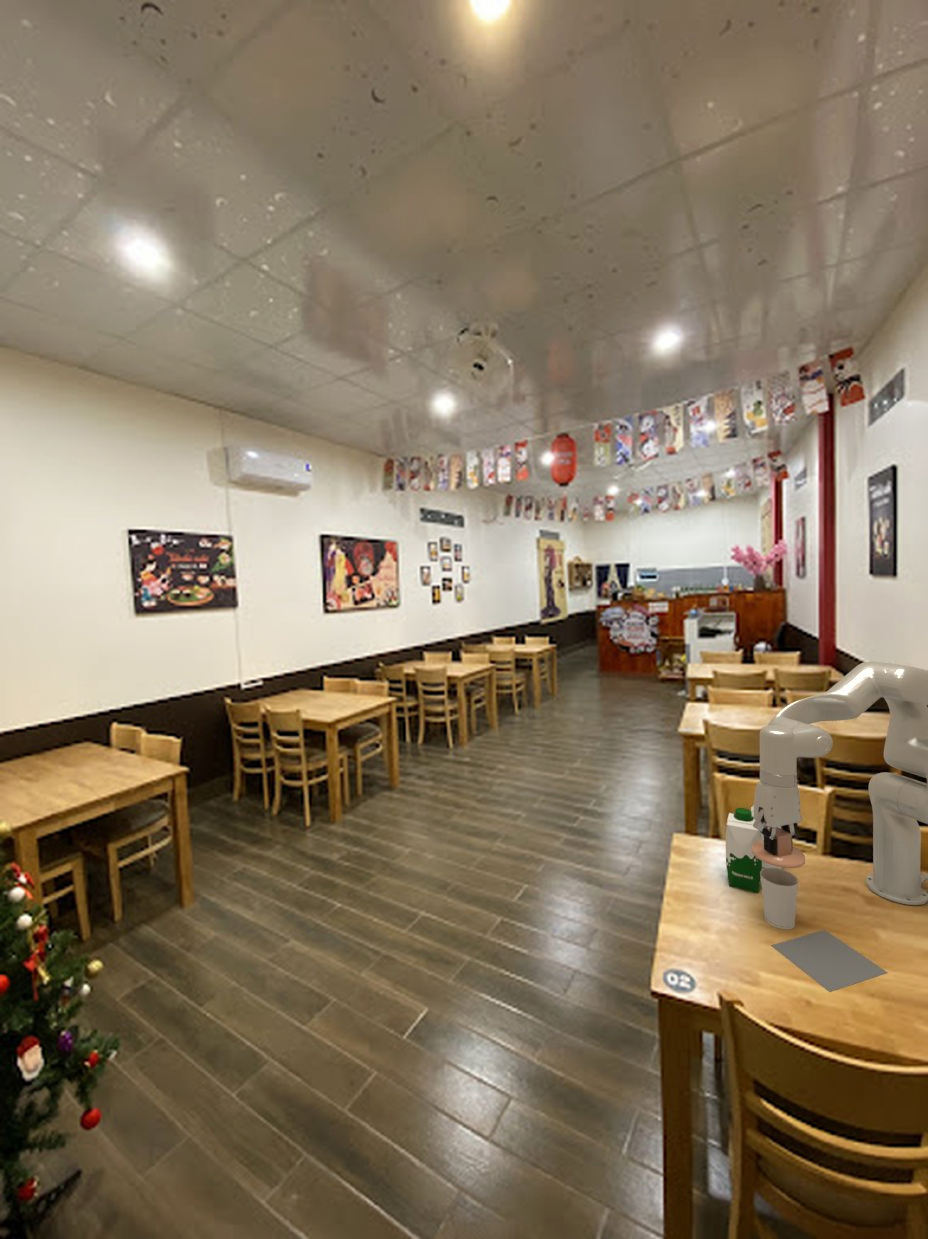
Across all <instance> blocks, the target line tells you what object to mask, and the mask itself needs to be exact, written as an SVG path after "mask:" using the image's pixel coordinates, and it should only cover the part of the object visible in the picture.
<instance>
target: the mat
mask: <svg viewBox="0 0 928 1239" xmlns="http://www.w3.org/2000/svg"><path fill="white" fill-rule="evenodd" d="M770 946H771V947H772V948H774V949H775V950H776V951H777V952H778V953H780V954H781V955H782V956H783V957H785V958H786V959H787V960H788V961H790V963H792V964H793V965H795V966H796V967H797V968H798V969H800V971H802V972H803V973H805V974H806V975H807V976H808V977H810V978H811V979H812V980H814V981H815V982H816V983H818V984H819V985H820V987H822V988H824V989H825V990H826V991H828V992H829V993H832V992H835V991H837V990H841V989H843V988H846V987H849V986H853V985H855V984H858V983H861V982H864V981H867V980H871V979H873V978H877V977H879V976H882V975H883V976H884V975H886V974H888V973H889V972H888V971H886V970H885V969H884V968H882V967H881V966H879V965H878V964H876V963H875V962H873V961H872V960H870V959H869V958H867V957H866V956H864V955H863V954H862V953H860V952H858V951H857V950H855V949H854V948H853V947H851V946H849V945H848V944H847V943H845V942H843V941H842V940H840V939H839V938H838V937H836V936H835V935H833V934H832V933H831V932H828V930H826V929H822V930H818V931H816V932H811V933H808V934H805V935H801V936H798V937H795V938H791V939H788V940H784V941H781V942H777V943H775V944H774V943H773V944H771V945H770Z"/></svg>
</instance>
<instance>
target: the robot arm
mask: <svg viewBox="0 0 928 1239" xmlns="http://www.w3.org/2000/svg"><path fill="white" fill-rule="evenodd" d="M881 698H883V699H884V700H885V702H886V703H887V706H888V709H889V710H888V711H889V721H888V722H889V723H888V727H887V733H886V736H885V742H884V746H883V747H884V748H883V758H884V761H885V763H886V764H887V765H888V766H891V767H893V768H894V769H897V770H900V771H903V772H906V773H909V774H913V775H916V776H917V777H922V778H926V782H923V781H919V780H917V779H914V778H911V777H907V776H904V775H901V774H899V773H893V772H886V771H885V772H883V771H882V772H880V773H876V774H874V775H873V776H872V777H871V779H870V780H869V783H868V795H869V800H870V803H871V807H872V819H873V824H872V827H873V829H872V830H873V832H872V835H873V836H872V838H873V841H872V844H873V845H872V848H873V849H872V850H873V852H872V856H873V858H872V860H873V861H872V862H873V864H872V867H873V868H872V870H873V872H872V874H868V875H867V876H866V878H865V884H866V886H867V887H868V889H870V890H871V891H872V892H873V893H874V894H876V895H878V897H882V898H883V899H886V900H889V901H891V902H894V903H898V904H903V905H908V906H909V905H910V906H921V905H925V904H926V903H927V902H928V891H926V889H924V888H923V887H922V884H924V882H928V873H927V872H926V871H925V872H921V850H922V848H921V845H922V844H921V843H922V842H921V841H922V833H921V828H920V824H919V823H918V822H920V823H924V824H926V825H928V669H924V668H919V667H915V666H912V665H911V666H910V665H906V664H905V665H904V664H896V663H887V662H881V661H864V662H861V663H859V664H858V665H856V666H855V667H854V668H853V669H852V670H850V671H849V672H848V673H847V674H846V675H844V677H842V678H841V679H840V680H838V681H837V682H836V683H835V684H834V685H832V686H831V687H830V688H829V689H828V690H827V691H825V692H820V693H818V694H817V693H816V694H814V695H811V696H808V697H805V698H801V699H798V700H796V701H794V702H791V703H789V704H788V705H786V706H785V707H783V708H782V709H781V710H780V711H778V712H777V713H776V714H775V715H774V716H773V717H771V718H772V719H770V721H768V724H767V725H765V726H762V727H761V729H760V731H759V781H757V783H756V788H755V792H754V797H753V798H754V799H753V805H754V819H755V822H754V824H753V827H754V828H756V829H758V830H759V831H760V832H761V833H762V834H763V835H764V850H766V851H767V852H769V853H771V854H772V855H777V839H775V832H776V827H778V826H781V829H782V830H784V831H786V832H788V833H790V834H792V837H793V836H794V835H795V834H796V832H795V830H796V829H797V827H798V825H799V824H800V823H801V822H802V821H803V817H802V815H801V811H802V809H801V798H800V797H801V796H800V790H799V785H798V783H797V775H798V772H797V759H798V758H811V759H812V758H813V759H814V758H821V757H824V756H826V755H827V754H829V753H830V751H831V750H832V748H833V744H834V743H833V742H834V740H833V737H832V736H831V734H830V733H829V732H828V731H827V730H825V729H824V728H821V727H819V726H817V725H813V723H819V722H840V721H847V720H853V719H857V718H858V717H860V716H861V715H862V714H864V712H866V711H867V710H868V709H869V708H870V707H871V706H872V705H873V704H875V703H876V702H877V701H878V700H880V699H881ZM768 827H769V828H770V832H769V831H768Z"/></svg>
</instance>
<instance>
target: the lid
mask: <svg viewBox="0 0 928 1239" xmlns="http://www.w3.org/2000/svg"><path fill="white" fill-rule="evenodd" d="M768 831H769V832H770V828H769V829H768ZM775 839H777V855H772V854H771V853H769V852H767V851H766V850H764V840H763V841H757V842H755V843H754V844H753V845H752V853H753V854H754V856H755V857H757V858H758V859H759V860H761V861H763V862H765V863H768V864H770V865H773V866H777V867H782V869H783V868H784V869H797V868H801V867H803V866H804V865H805V864H806V856H805V854H804V853H803V852H802V850H800V849H798V848H797V847H795V846H793V836H792V834H790V833H788V832H786V831H784V830H782V829H780V828H779V827H776V832H775Z"/></svg>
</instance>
